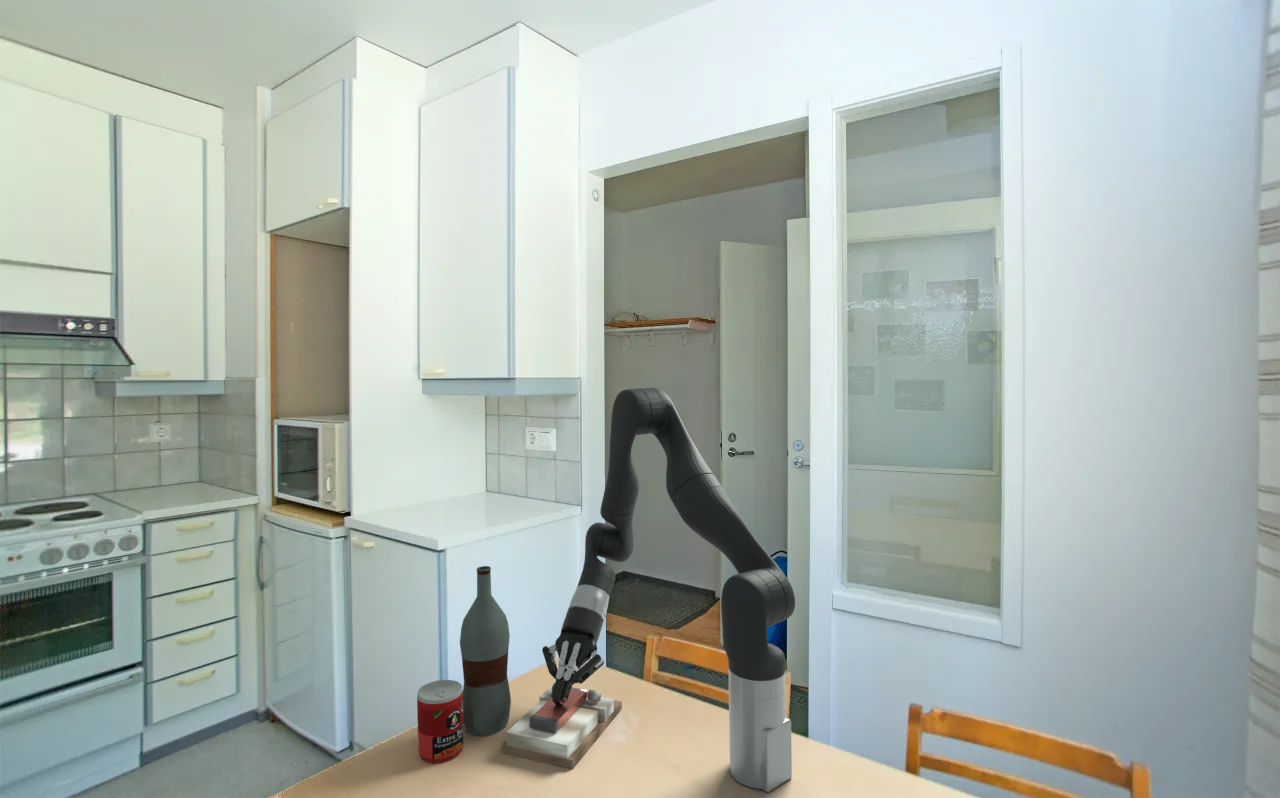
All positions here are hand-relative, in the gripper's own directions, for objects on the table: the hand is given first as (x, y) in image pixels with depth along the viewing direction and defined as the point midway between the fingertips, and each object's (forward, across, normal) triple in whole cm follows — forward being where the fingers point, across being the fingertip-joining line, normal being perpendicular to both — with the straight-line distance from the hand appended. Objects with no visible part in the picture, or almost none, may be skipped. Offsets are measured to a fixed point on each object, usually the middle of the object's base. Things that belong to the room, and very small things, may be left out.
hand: (557, 703), depth 115 cm
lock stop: (-4, 0, +6) cm, 8 cm away
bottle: (+5, -15, +4) cm, 17 cm away
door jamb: (+2, 0, +7) cm, 7 cm away
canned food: (+12, -18, -3) cm, 22 cm away
